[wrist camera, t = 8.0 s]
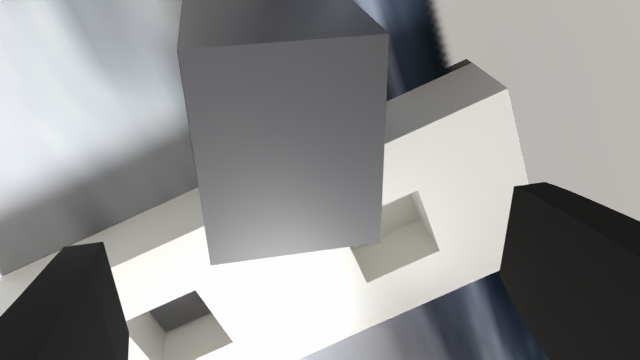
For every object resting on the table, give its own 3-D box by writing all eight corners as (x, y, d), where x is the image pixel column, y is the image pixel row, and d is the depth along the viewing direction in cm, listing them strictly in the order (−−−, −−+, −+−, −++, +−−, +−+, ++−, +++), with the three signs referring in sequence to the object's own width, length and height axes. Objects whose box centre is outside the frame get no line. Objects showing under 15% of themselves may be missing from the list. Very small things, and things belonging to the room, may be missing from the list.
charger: (324, 125, 19) (380, 242, 13) (206, 137, 18) (210, 265, 13) (321, -28, 16) (389, 33, 11) (184, -20, 16) (177, 49, 10)
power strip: (504, 207, 23) (552, 260, 20) (115, 381, 23) (103, 458, 20) (466, 58, 19) (518, 95, 16) (6, 268, 20) (-29, 342, 17)
